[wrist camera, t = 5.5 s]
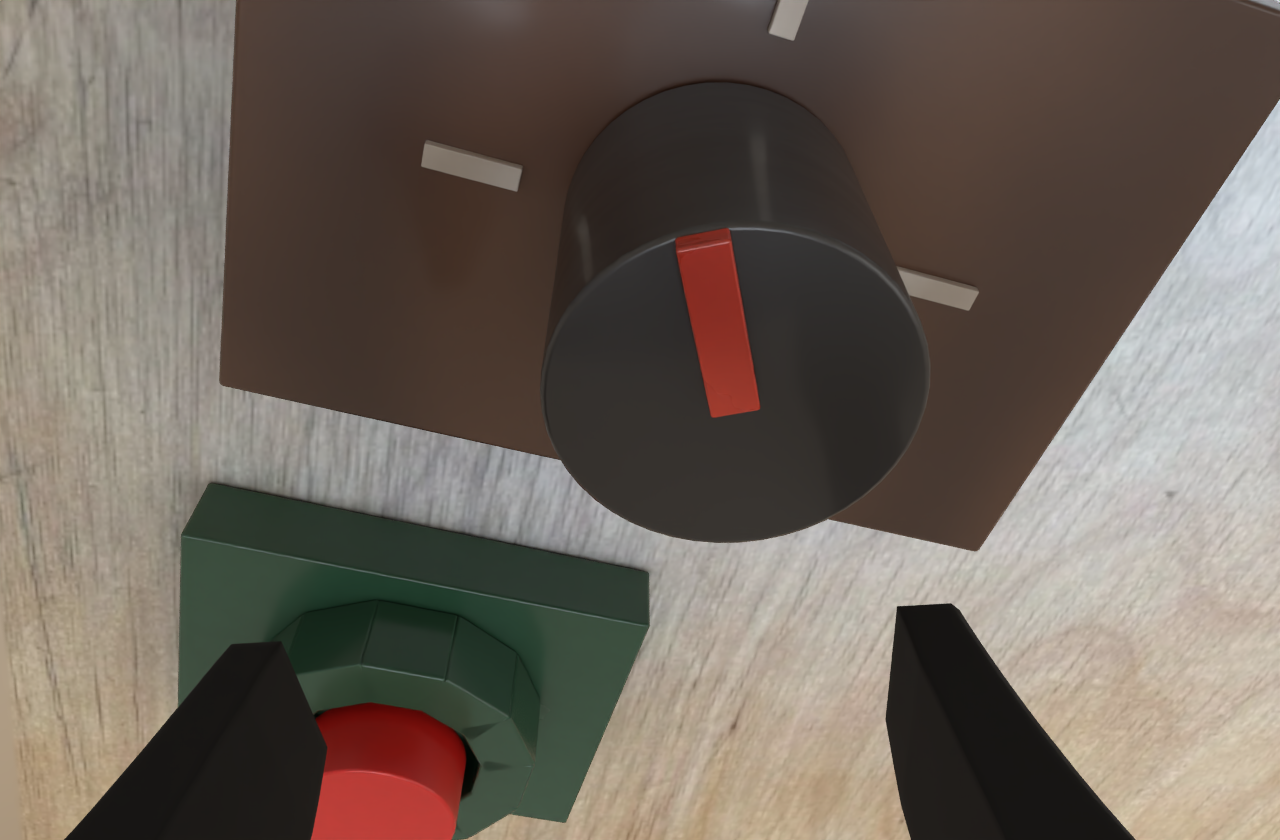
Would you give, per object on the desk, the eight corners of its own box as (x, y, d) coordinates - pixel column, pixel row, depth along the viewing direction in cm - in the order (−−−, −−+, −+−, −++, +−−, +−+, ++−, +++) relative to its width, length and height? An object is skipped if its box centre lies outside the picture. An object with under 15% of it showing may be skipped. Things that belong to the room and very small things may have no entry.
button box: (200, 706, 26) (146, 828, 23) (209, 481, 22) (144, 599, 19) (569, 768, 28) (561, 890, 25) (649, 571, 23) (651, 692, 21)
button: (297, 783, 23) (275, 854, 22) (311, 685, 21) (287, 757, 20) (452, 807, 24) (440, 878, 22) (480, 715, 22) (469, 787, 20)
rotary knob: (871, 326, 16) (945, 532, 12) (601, 374, 16) (590, 586, 13) (846, 49, 13) (930, 196, 9) (528, 116, 14) (486, 283, 10)
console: (270, 298, 19) (214, 392, 16) (319, -334, 13) (244, -338, 11) (940, 456, 21) (980, 560, 19) (1223, -25, 16) (1338, 30, 13)
